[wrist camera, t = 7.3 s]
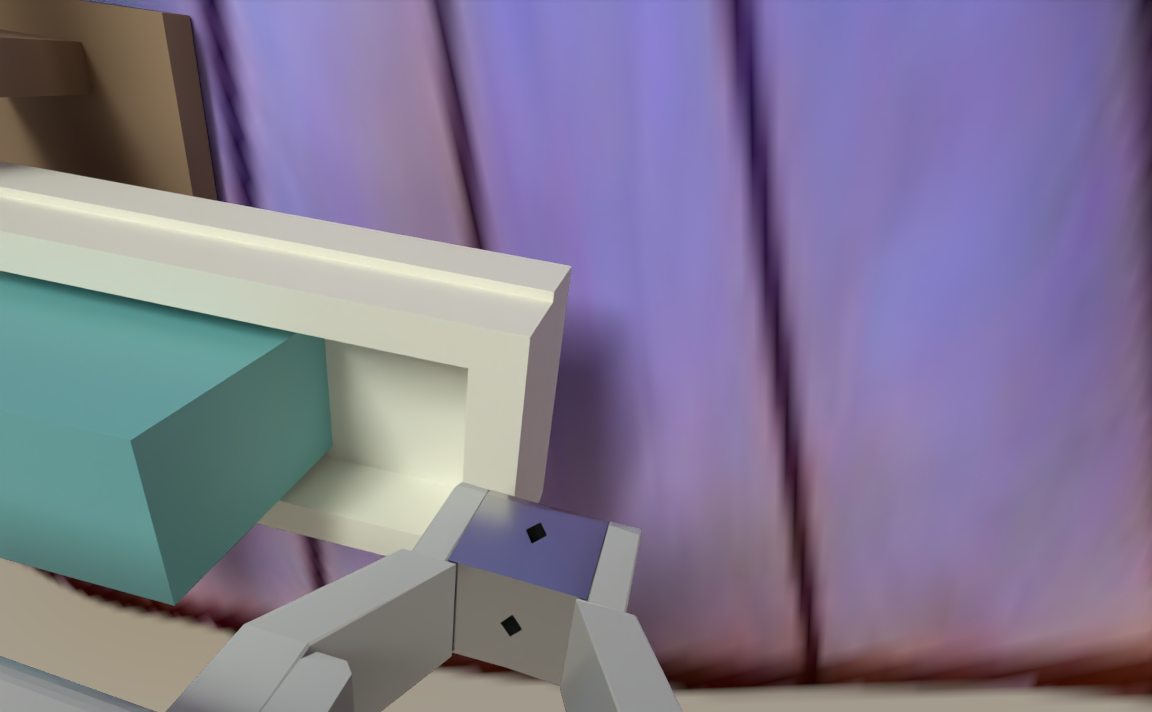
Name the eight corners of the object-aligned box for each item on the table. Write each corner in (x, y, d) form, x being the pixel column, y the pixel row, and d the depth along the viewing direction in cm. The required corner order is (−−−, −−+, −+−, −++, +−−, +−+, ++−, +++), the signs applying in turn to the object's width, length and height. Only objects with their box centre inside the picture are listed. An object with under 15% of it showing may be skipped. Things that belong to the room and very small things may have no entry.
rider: (62, 383, 14) (-190, 505, 10) (22, 255, 13) (-292, 338, 9) (332, 445, 13) (174, 606, 9) (322, 316, 12) (130, 440, 8)
